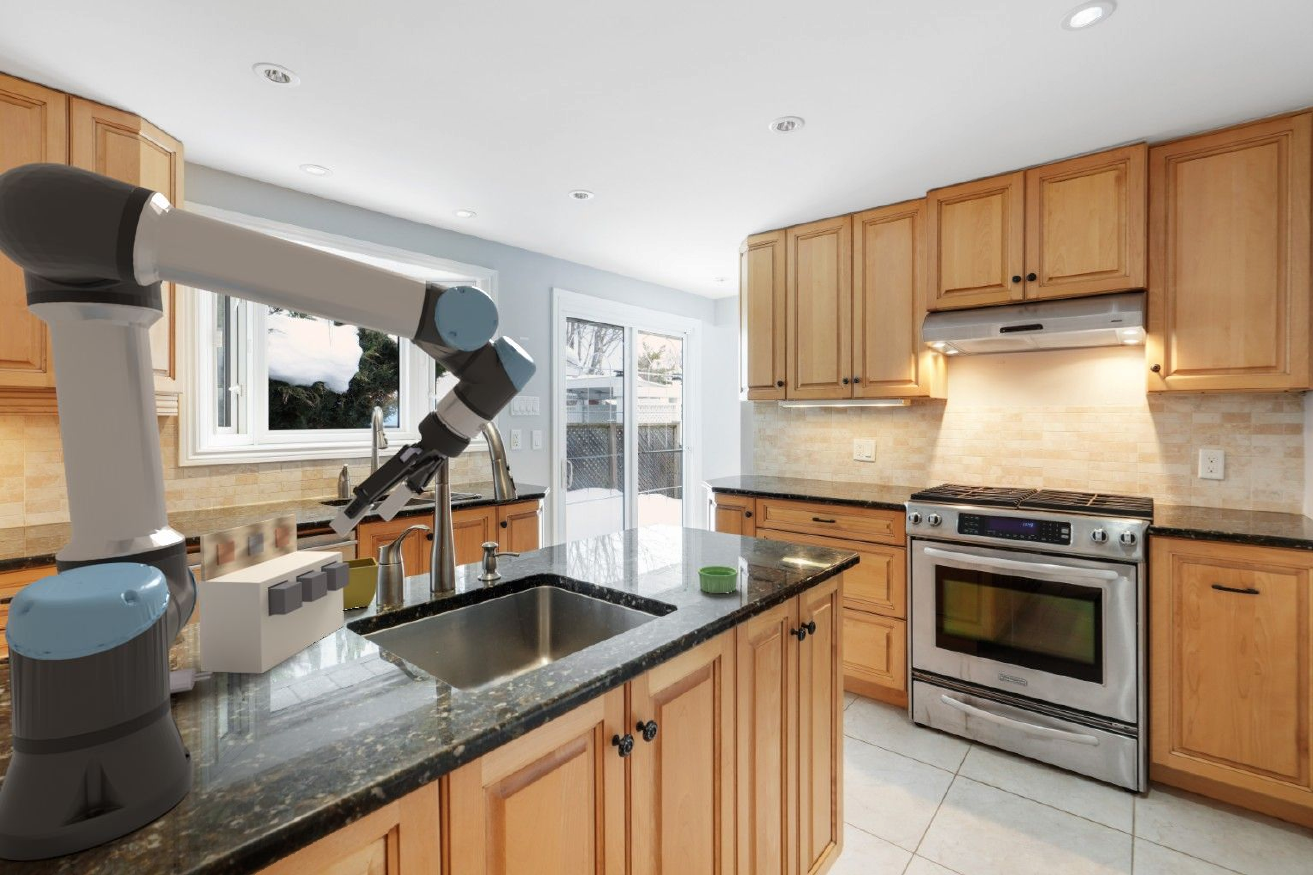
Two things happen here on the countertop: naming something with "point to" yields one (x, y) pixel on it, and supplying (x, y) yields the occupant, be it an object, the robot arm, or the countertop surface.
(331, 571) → the right button
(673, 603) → the countertop surface
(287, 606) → the left button
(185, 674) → the charger
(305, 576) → the middle button
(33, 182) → the robot arm
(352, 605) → the flower pot
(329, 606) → the console
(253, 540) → the pattern sign
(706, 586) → the ramekin
